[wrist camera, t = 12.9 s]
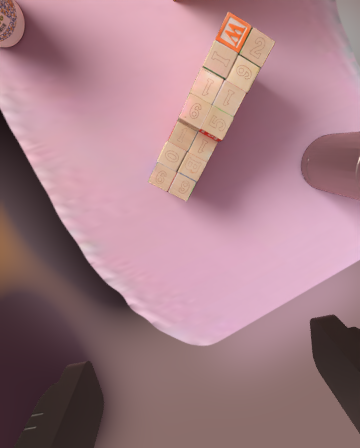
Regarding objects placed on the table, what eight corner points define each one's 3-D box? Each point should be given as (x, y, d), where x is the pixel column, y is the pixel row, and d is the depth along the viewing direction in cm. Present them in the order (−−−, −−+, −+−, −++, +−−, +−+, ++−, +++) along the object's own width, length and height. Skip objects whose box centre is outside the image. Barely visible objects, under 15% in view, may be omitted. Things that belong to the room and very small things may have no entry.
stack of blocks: (183, 192, 47) (187, 207, 35) (151, 175, 46) (143, 184, 34) (247, 71, 42) (277, 40, 30) (212, 49, 41) (229, 8, 29)
